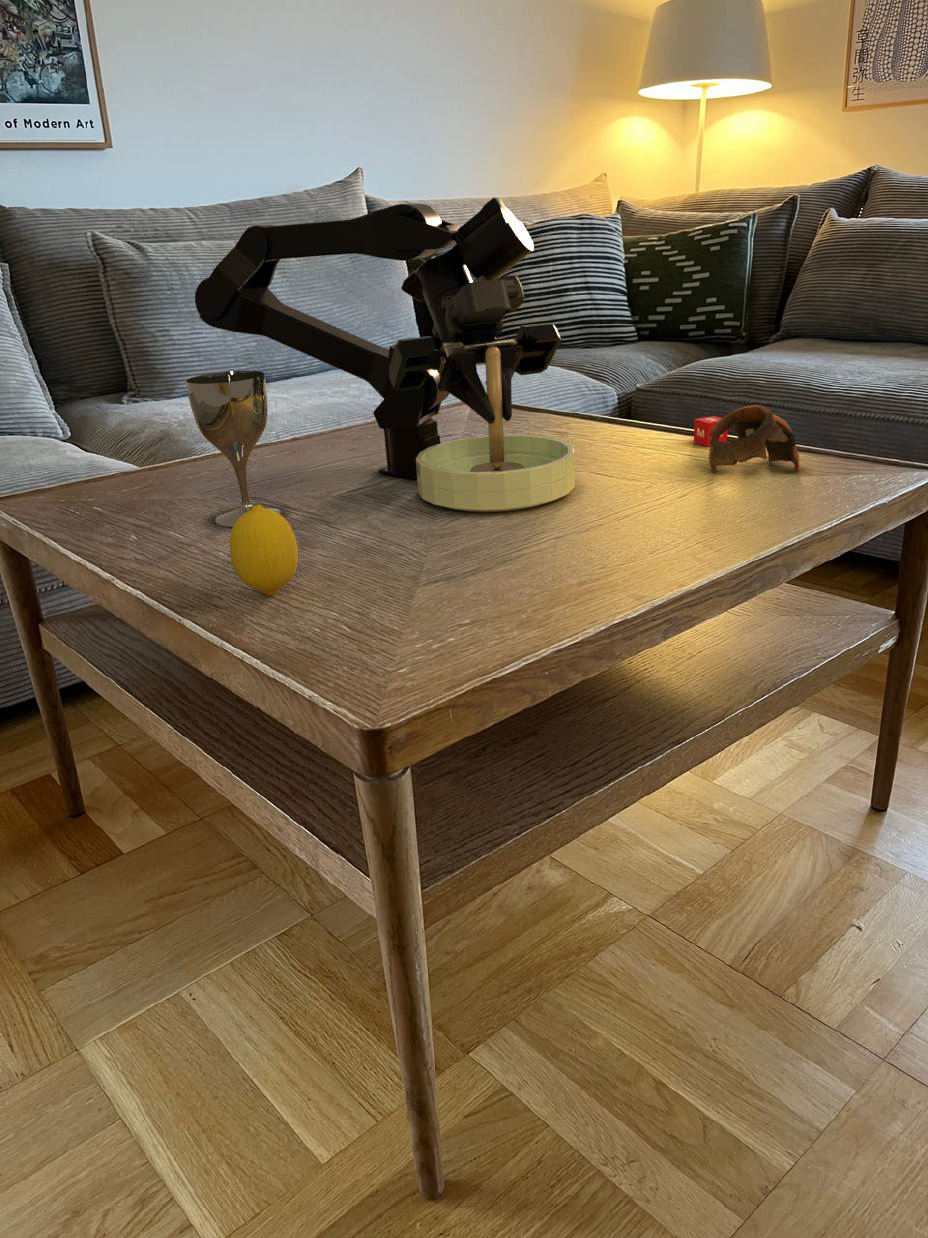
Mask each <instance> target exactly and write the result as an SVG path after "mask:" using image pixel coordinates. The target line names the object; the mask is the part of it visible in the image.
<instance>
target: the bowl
mask: <svg viewBox="0 0 928 1238" xmlns="http://www.w3.org/2000/svg"><path fill="white" fill-rule="evenodd" d="M503 435H504V462H514V463H519V464H522V465H523V466H524V467H525V469H517V470H509V471H496V472H470V470H471V468H472V467H474V466H476V465H479V464H483V463H489V462H490V452H489V435H481V436H471V437H463V438H459V439H454V440H448V441H445V442H440V444H438V445H434V446H431V447H429V448H427V449H425V450H423V451H421V452H420V453H419V454H418V456H417V458H416V469H417V479H416V480H417V493H418V494H419V495H420V497H421V499H422V500H423V501H426V502H428V503H430V504H431V505H434V506H438V507H443V508H446V509H450V510H455V511H460V512H473V513H474V512H475V513H497V512H498V513H499V512H509V511H510V512H511V511H518V510H519V511H520V510H523V509H524V510H525V509H531V508H534V507H538V506H542V505H545V504H548V503H550V502H553V501H555V500H557V499H560V498H562V497H565V496H567V495H568V494H569V493H570V492H572V490H574V488H576V482H575V481H576V478H575V477H576V476H575V475H576V473H575V471H576V470H575V446H573V445H572V444H571V443H569V442H567V441H565V440H561V439H557V438H554V437H549V436H542V435H534V434H533V435H532V434H503Z"/></svg>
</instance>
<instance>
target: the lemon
mask: <svg viewBox="0 0 928 1238" xmlns="http://www.w3.org/2000/svg"><path fill="white" fill-rule="evenodd" d="M252 506H253V507H252V509H251V510H249V511H247V512H246V513H244V514H243V515H242V516H240V517H239V519H238V520H237V521H236V523H235V524H234V526H233V527H231V532H230V537H229V552H230V553H229V554H230V560H231V563H232V566H233V569H234V572H235V574H236V575H237V577H238V579H240V581H242V583H244V584H245V585H246V586H247V587H249V588H250V589H253V590H255V591H261V592H262V593H264V594H265V595H266V596H269V597H270V596H275V595H276V593H277V592H278V591H279V590H280V589H281V588H282V587H285V585H287V584H288V583H290V581H291V580H292V578H293V577H294V575H295V574H296V571H297V568H298V560H299V548H298V541H297V539H296V535H295V533H294V531H293V528H292V527H291V525H290V523H289V521H288V520H287V519H286V518H285V517H284V516H283V515H280V514H279V513H277V512H275V511H273V510H270V509H266V508H263V507H264V506H262V504H254V505H252Z"/></svg>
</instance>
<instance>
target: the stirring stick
mask: <svg viewBox="0 0 928 1238" xmlns="http://www.w3.org/2000/svg"><path fill="white" fill-rule="evenodd" d="M485 362H486V366H485V382H486V383H485V386H486V393H487V396H488V398H489V400H490V403H491V405H492V408H493V411H494V415H495V420H494V423H492V424H489V423H488V422H487V428H488V436H489V452H490V462H489V463H483V464H479V465H476V466H474V467H472V468H471V470H470V472H496V471H509V470H517V469H525V467H524V466H523V465H522V464H519V463H514V462H504V435H505V434H504V418H503V409H502V383H501V357H500V351H499V349H498V348H496V347H490V348H488V349H487V350H486V353H485Z"/></svg>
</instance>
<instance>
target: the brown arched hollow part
mask: <svg viewBox="0 0 928 1238" xmlns="http://www.w3.org/2000/svg"><path fill="white" fill-rule="evenodd" d="M721 418H722V419H720V420H719V421H718V422H717V423H716V424H715V425H714V426H713V428H712V429H711V431H710V434H709V435H710V436H711V438H712V439H711V441H710V444H711V446H709V447H710V448H709V454H708V461H709V466H710V469H711V471H712V472H713V473H715V472H716V471H717V466H718V467H719V466H732V467H733V466H736V465H737V464H738V463H740V464H741V463H746V462H748V461H750V460H752V459H756V458H759V459H760V458H761V459H762V460H767V461H768V462H769V463H773V462H779V461H784V462H790V463H792V464H793V465H794V470H795V472H796V473H799V472H800V471H801V466H800V453H799V449H798V447H797V444H796V439H795V435H794V432H793V430H792V428H791V426H790V425H789V423H788V422H787V421H786V420H784V419H782V418H781V417H780V416H777V415H776V414H773V413H772V410H771V409H770V408H769V407H767V406H764V405H762V404H752V405H751V404H750V405H747V406H743V407H740V408H737V409H735V410H733V411H731V412H729V413H727V414H726V415H724V416H723V417H721ZM732 427H733V431H734V433H735V434H736V437H737V439H736V440H733V441H732V440H731V441H727V442H720V441H718V439H719V437H720V436H721V435H722V434H723V433H724V432H725V431H726V430H727V429H728V430H729V429H731V428H732Z"/></svg>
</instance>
